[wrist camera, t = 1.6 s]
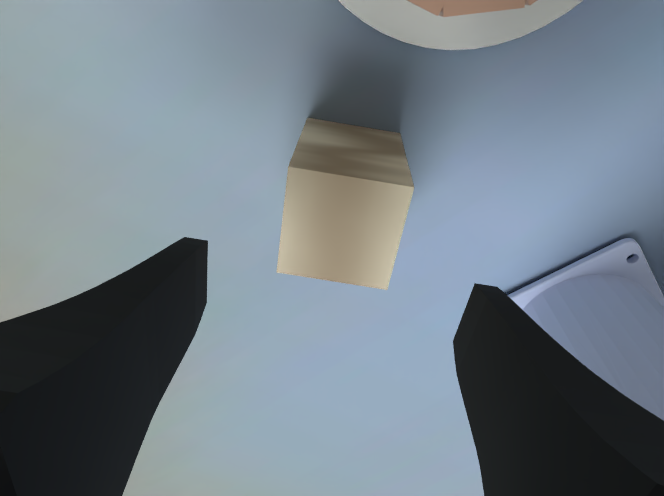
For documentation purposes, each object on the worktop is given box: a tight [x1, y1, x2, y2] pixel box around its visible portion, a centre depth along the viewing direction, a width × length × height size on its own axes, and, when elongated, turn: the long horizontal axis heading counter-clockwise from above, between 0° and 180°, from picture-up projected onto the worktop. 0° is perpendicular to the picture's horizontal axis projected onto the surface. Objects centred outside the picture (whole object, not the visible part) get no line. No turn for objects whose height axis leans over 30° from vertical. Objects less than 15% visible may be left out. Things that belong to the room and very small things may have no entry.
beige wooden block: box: [277, 118, 414, 290], centre depth 18 cm, size 4×4×6 cm
